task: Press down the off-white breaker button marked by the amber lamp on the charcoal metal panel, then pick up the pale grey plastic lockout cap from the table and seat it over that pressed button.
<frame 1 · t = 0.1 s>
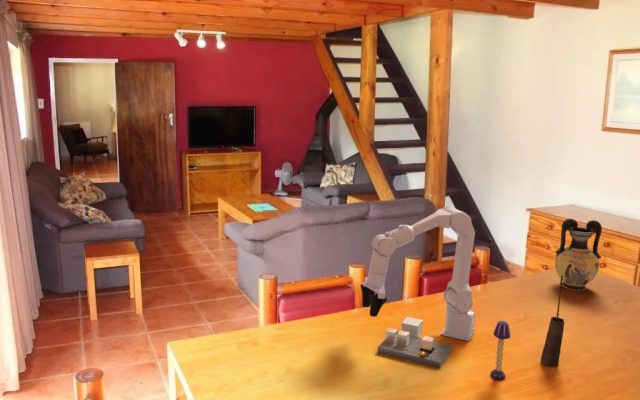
hand: (369, 311, 179), 10 cm above the table, tool pointing down, fingers open, 7 cm apart
amphora: (573, 287, 236), on the table
lockout cap: (411, 333, 188), on the table
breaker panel: (414, 351, 175), on the table
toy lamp: (497, 376, 161), on the table
breaker button: (427, 343, 172), point 4 cm above the table, slide at 0.0 cm
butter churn: (550, 365, 169), on the table
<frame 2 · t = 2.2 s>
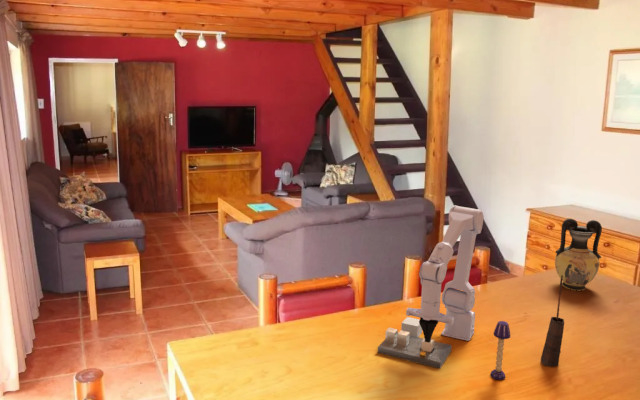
hand: (427, 340, 172), 5 cm above the table, tool pointing down, fingers closed, pressing on breaker button
breaker button: (427, 345, 172), point 3 cm above the table, slide at 0.7 cm, touching gripper
everything else where it was.
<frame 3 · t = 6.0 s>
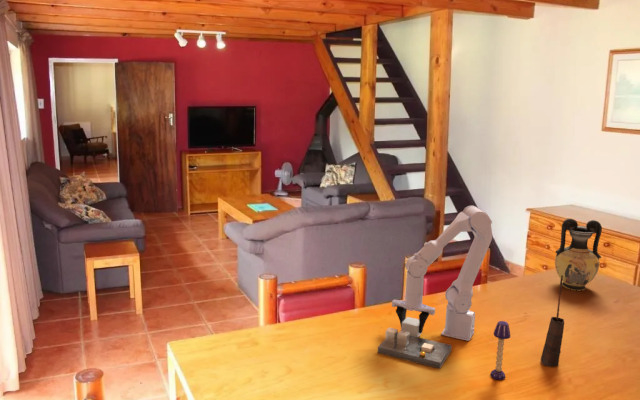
hand: (411, 330, 187), 1 cm above the table, tool pointing down, fingers closed on lockout cap, 6 cm apart
lockout cap: (411, 333, 188), on the table, touching gripper
breaker button: (427, 350, 173), point 2 cm above the table, slide at 2.4 cm
everything else where it was.
when the fingers open (4 cm above the table, at t = 10.0 s): lockout cap stays where it is, resting on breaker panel.
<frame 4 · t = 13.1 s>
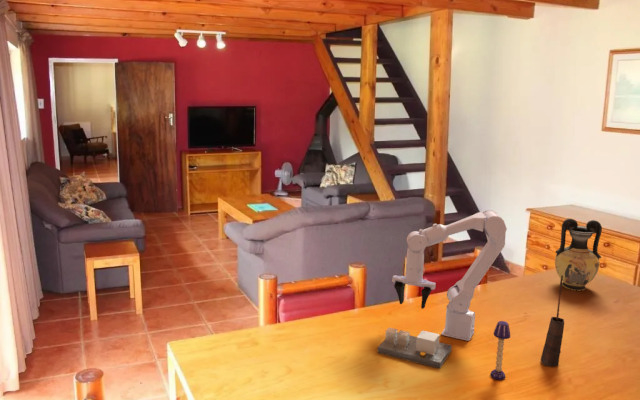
hand: (412, 305, 188), 9 cm above the table, tool pointing down, fingers open, 7 cm apart
lockout cap: (427, 349, 173), point 2 cm above the table, touching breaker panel
everything else where it was.
at the end: breaker button slide at 2.4 cm; lockout cap 0.0 cm from the target spot, point 2.0 cm above the table; lockout cap tilted 0° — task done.
